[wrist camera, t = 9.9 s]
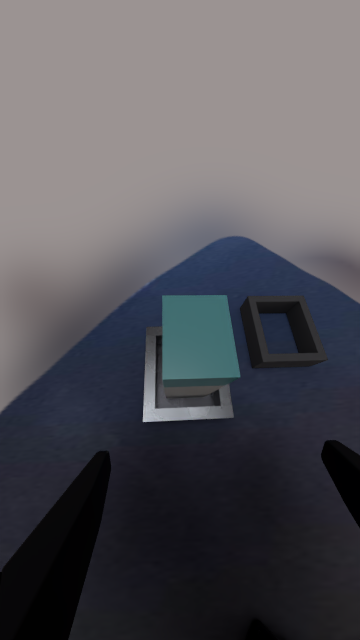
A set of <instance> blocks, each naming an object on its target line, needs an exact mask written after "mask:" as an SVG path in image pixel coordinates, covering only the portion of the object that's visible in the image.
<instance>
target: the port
mask: <svg viewBox="0 0 360 640" xmlns="http://www.w3.org/2000/svg"><path fill="white" fill-rule="evenodd" d="M162 338H163V327H147V330H146V356H145V383H144V409H143V422H153V421H174V420H195V419H216V418H234V416H233V409H232V402H231V395H230V389H229V384H227V385H225V386H223V387H221V388H220V389H218V390H216V391H214V392H212V393H210V394H208V395H207V396H205V397H194V398H167V399H166V396H165V391H164V386H163V380H162Z"/></svg>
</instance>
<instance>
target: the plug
mask: <svg viewBox="0 0 360 640" xmlns="http://www.w3.org/2000/svg"><path fill="white" fill-rule="evenodd" d="M238 378H240V372H239V366H238V360H237V354H236V348H235V342H234V336H233V330H232V324H231V319H230V313H229V307H228V301H227V295H209V296H163V338H162V380H163V386H164V391H165V396H166V399H167V398H194V397H205V396H207V395H208V394H210V393H212V392H214V391H216V390H218V389H220V388H221V387H223V386H225V385H227V384H229V383H231V382H233V381H234V380H236V379H238Z"/></svg>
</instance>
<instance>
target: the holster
mask: <svg viewBox="0 0 360 640" xmlns="http://www.w3.org/2000/svg"><path fill="white" fill-rule="evenodd" d="M240 311H241V316H242V321H243V326H244V330H245V335H246V340H247V345H248V350H249V355H250V360H251V365H252V368H273V367H305V366H312V365H315V364H318V363H321V362H324V361H326V360H328V359H327V356H326V353H325V351H324V348H323V345H322V343H321V340H320V338H319V335H318V332H317V330H316V327H315V324H314V322H313V319H312V317H311V314H310V311H309V309H308V306H307V304H306V301H305V298H304V296H248V297H247V299H246V300H245V302H244V303H243V305H242V306H241V308H240ZM259 313H286V314H287V317H288V320H289V323H290V326H291V330H292V333H293V336H294V339H295V342H296V345H297V348H298V351H299V353H292V354H269V353H268V349H267V345H266V341H265V337H264V333H263V329H262V325H261V321H260V317H259Z"/></svg>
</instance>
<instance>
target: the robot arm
mask: <svg viewBox="0 0 360 640" xmlns="http://www.w3.org/2000/svg"><path fill="white" fill-rule="evenodd" d="M321 458H322V461H323V463H324V465H325V467H326V469H327V470H328V472H329V474H330V476H331V478H332V480H333V482H334V484H335V486H336V488H337V490H338V491H339V493H340V495H341V497H342V499H343V501H344V503H345V504H346V506H347V508H348V510H349V511H350V513H351V515H352V516H353V518H354V520H355V521H356V523H357V524H358V526H359V528H360V455H359V454H357V453H355V452H354V451H352V450H351V449H349V448H348V447H346V446H345V445H343V444H342V443H340V442H338V441H336V440H327V441H325V443H324V446H323V450H322V453H321ZM110 472H111V462H110V456H109V452H108V451H99V452H97V453H96V454H95V455H94V457H93V458H92V459H91V460H90V461H89V463H88V464H87V465H86V466H85V468H84V469H83V470H82V471H81V473H80V474H79V475H78V476H77V477H76V479H75V480H74V481H73V482H72V484H71V485H70V486H69V487H68V488H67V490H66V491H65V492H64V493H63V495H62V496H61V497H60V498H59V500H58V501H57V502H56V503H55V504H54V506H53V507H52V508H51V509H50V511H49V512H48V513H47V514H46V516H45V517H44V518H43V519H42V520H41V522H40V523H39V524H38V525H37V527H36V528H35V529H34V530H33V531H32V533H31V534H30V535H29V536H28V538H27V539H26V540H25V541H24V543H23V544H22V545H21V546H20V547H19V549H18V550H17V551H16V552H15V554H14V555H13V556H12V557H11V559H10V560H9V561H8V562H7V563H6V565H5V566H4V567H3V569H2V572H0V640H68V638H69V635H70V631H71V628H72V624H73V620H74V617H75V613H76V610H77V606H78V603H79V599H80V595H81V592H82V588H83V585H84V581H85V578H86V574H87V570H88V567H89V563H90V560H91V556H92V552H93V549H94V545H95V542H96V538H97V535H98V531H99V527H100V523H101V519H102V514H103V509H104V504H105V498H106V493H107V488H108V483H109V477H110ZM259 630H260V631H261V634H260V636H256V633H257V631H259ZM246 640H278V639H277V638H276V637H275V636H274V635H273V634H272V633H271V632H270V631H269V630H268V629H267V628H266V627H265V626H264V625H263V624H262V623H261V622H260V621H259V620H254V621H253V622H252V624H251V627H250V629H249V632H248V635H247V638H246Z"/></svg>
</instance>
